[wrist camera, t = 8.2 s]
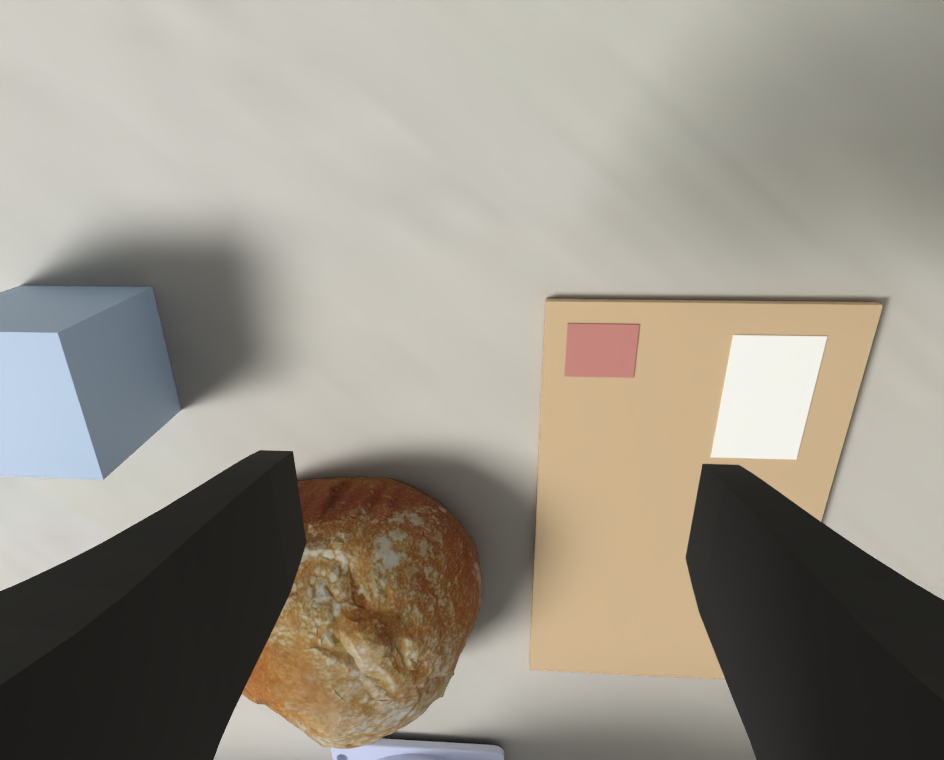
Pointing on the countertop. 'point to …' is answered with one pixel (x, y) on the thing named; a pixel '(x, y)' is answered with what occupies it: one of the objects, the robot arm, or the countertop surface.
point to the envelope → (671, 458)
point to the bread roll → (369, 612)
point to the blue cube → (80, 379)
